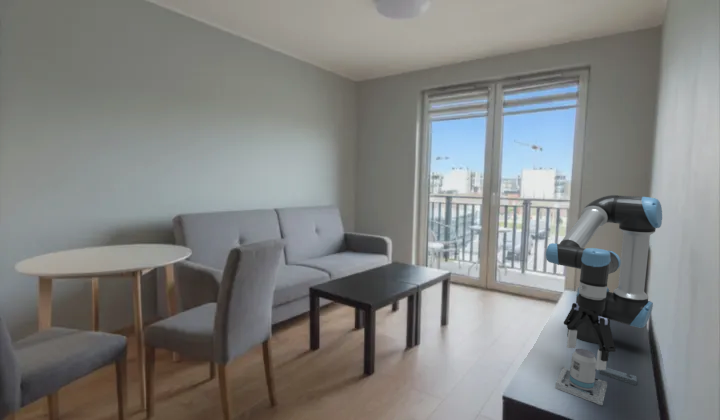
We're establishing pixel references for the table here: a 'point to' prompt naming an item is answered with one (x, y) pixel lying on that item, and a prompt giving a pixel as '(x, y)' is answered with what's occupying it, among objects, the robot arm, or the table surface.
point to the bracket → (619, 375)
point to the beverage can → (583, 369)
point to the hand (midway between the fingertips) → (585, 358)
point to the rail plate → (591, 395)
